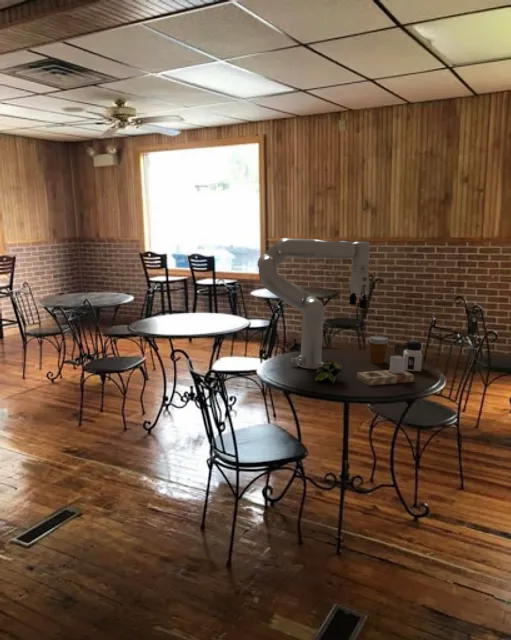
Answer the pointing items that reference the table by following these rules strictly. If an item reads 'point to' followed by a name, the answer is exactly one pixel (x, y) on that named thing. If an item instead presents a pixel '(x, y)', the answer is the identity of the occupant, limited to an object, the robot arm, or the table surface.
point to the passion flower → (329, 370)
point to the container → (413, 356)
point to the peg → (397, 365)
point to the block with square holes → (383, 377)
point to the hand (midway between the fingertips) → (357, 306)
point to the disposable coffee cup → (378, 348)
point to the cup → (399, 349)
